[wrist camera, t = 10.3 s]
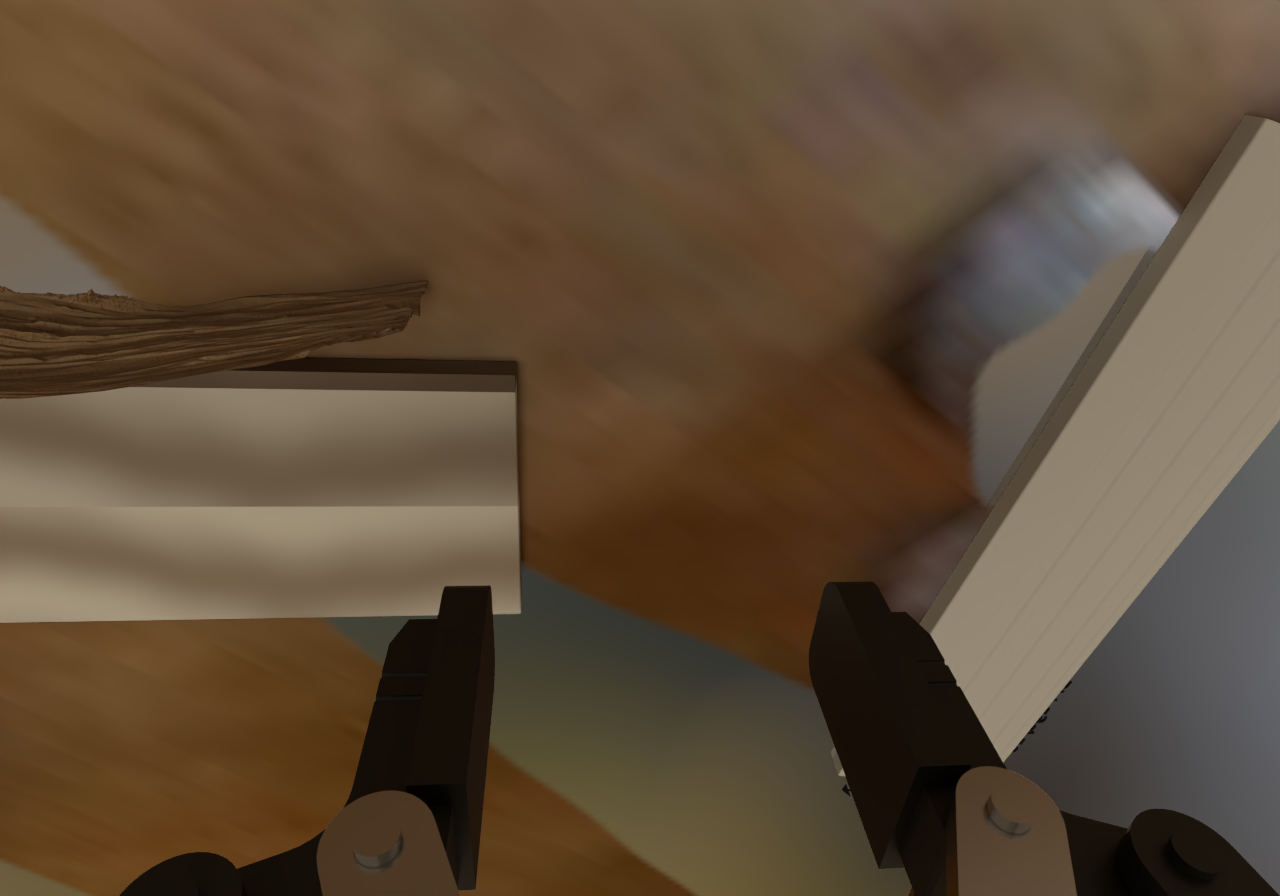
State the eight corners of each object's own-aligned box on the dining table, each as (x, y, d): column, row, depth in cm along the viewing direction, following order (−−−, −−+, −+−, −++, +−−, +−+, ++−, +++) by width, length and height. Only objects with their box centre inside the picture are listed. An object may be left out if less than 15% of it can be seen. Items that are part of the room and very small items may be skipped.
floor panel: (-172, 349, 22) (-201, 363, 22) (516, 361, 25) (514, 375, 24) (-38, 603, 28) (-57, 623, 27) (521, 595, 30) (520, 613, 29)
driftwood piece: (419, 233, 22) (387, 292, 18) (432, 300, 23) (405, 371, 19) (-130, 269, 22) (-299, 341, 17) (-90, 337, 23) (-240, 420, 18)
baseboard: (1465, 201, 25) (1227, 110, 23) (1559, 224, 23) (1304, 125, 21) (1001, 772, 40) (827, 749, 38) (1029, 823, 37) (845, 802, 35)
